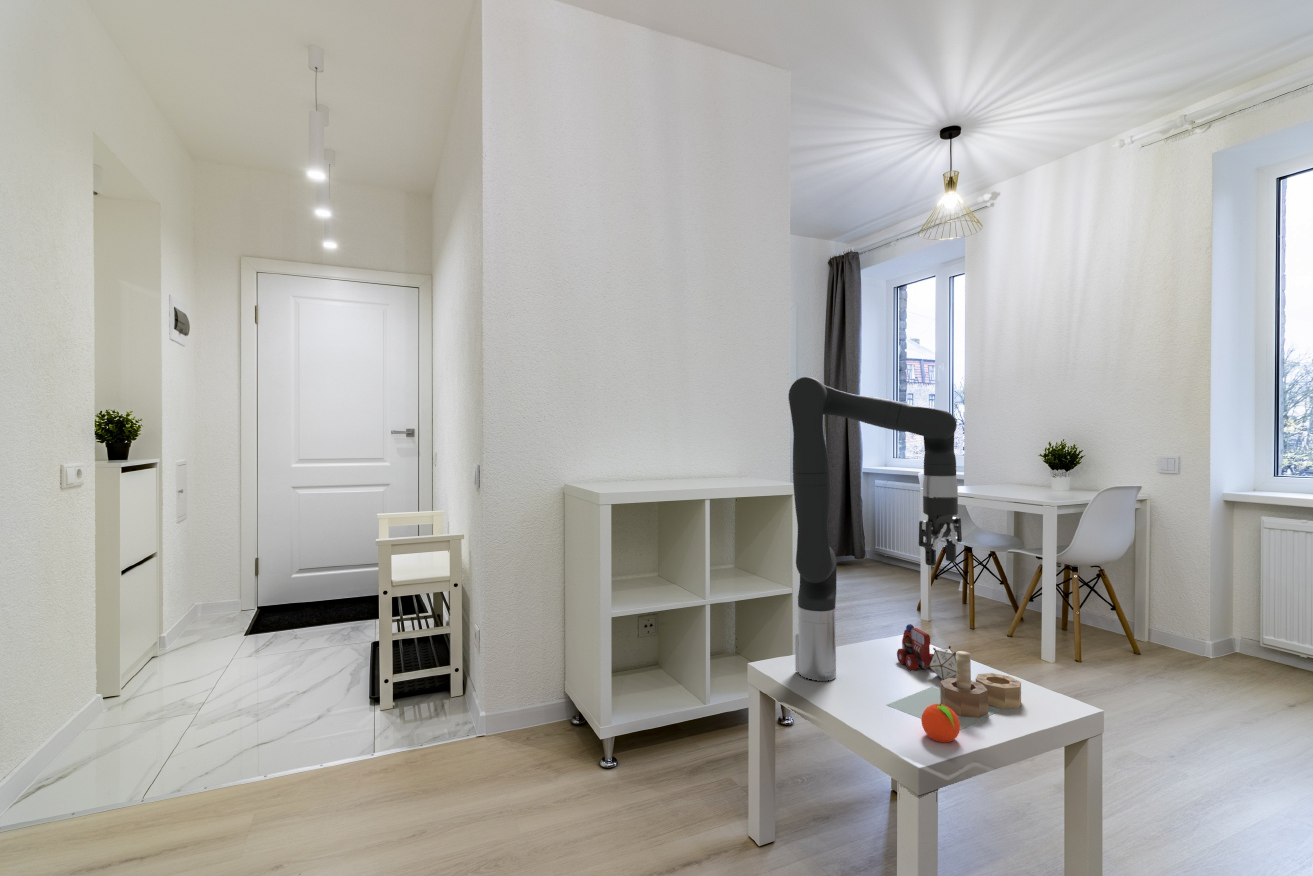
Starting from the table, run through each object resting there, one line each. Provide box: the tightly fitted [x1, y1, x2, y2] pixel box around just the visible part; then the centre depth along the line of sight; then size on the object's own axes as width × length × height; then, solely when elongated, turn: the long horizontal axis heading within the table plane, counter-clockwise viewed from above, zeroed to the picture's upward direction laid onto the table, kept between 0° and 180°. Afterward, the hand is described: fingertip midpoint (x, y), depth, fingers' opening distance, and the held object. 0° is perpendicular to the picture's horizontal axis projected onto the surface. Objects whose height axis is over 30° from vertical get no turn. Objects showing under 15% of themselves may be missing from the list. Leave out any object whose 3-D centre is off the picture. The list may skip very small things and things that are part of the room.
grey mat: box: [886, 686, 1001, 731], centre depth 135 cm, size 16×18×1 cm
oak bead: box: [975, 672, 1022, 710], centre depth 139 cm, size 9×9×5 cm
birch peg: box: [955, 650, 972, 690], centre depth 135 cm, size 3×3×12 cm
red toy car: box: [896, 623, 933, 672], centre depth 163 cm, size 7×12×10 cm, turn 4°
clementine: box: [920, 704, 961, 743], centre depth 121 cm, size 8×7×7 cm
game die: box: [925, 645, 957, 681], centre depth 153 cm, size 9×8×10 cm
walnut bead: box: [939, 678, 989, 718], centre depth 135 cm, size 9×9×5 cm
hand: (940, 563), depth 147 cm, fingers open, 8 cm apart
